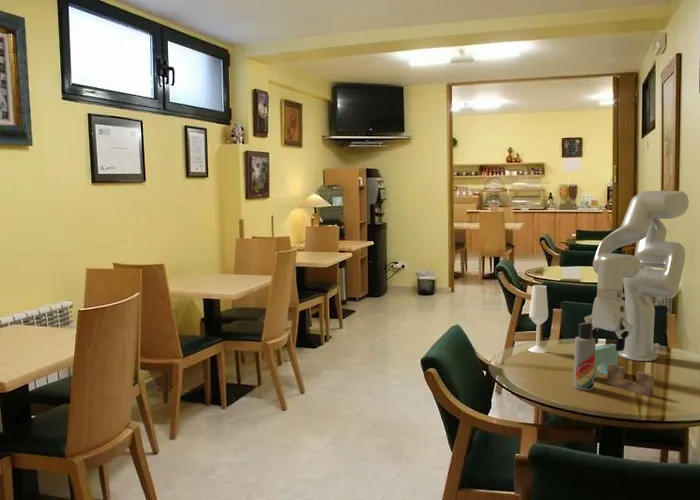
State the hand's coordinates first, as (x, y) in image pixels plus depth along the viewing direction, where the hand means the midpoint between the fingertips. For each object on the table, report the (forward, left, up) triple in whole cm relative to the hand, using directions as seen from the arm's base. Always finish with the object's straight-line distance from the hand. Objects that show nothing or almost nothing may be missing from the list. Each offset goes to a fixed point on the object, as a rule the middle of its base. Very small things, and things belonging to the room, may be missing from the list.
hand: (606, 347), depth 199 cm
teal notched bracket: (+3, 0, -9) cm, 9 cm away
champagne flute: (-3, -31, -9) cm, 33 cm away
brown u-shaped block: (+7, +14, -9) cm, 18 cm away
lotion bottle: (+18, +6, -9) cm, 21 cm away
